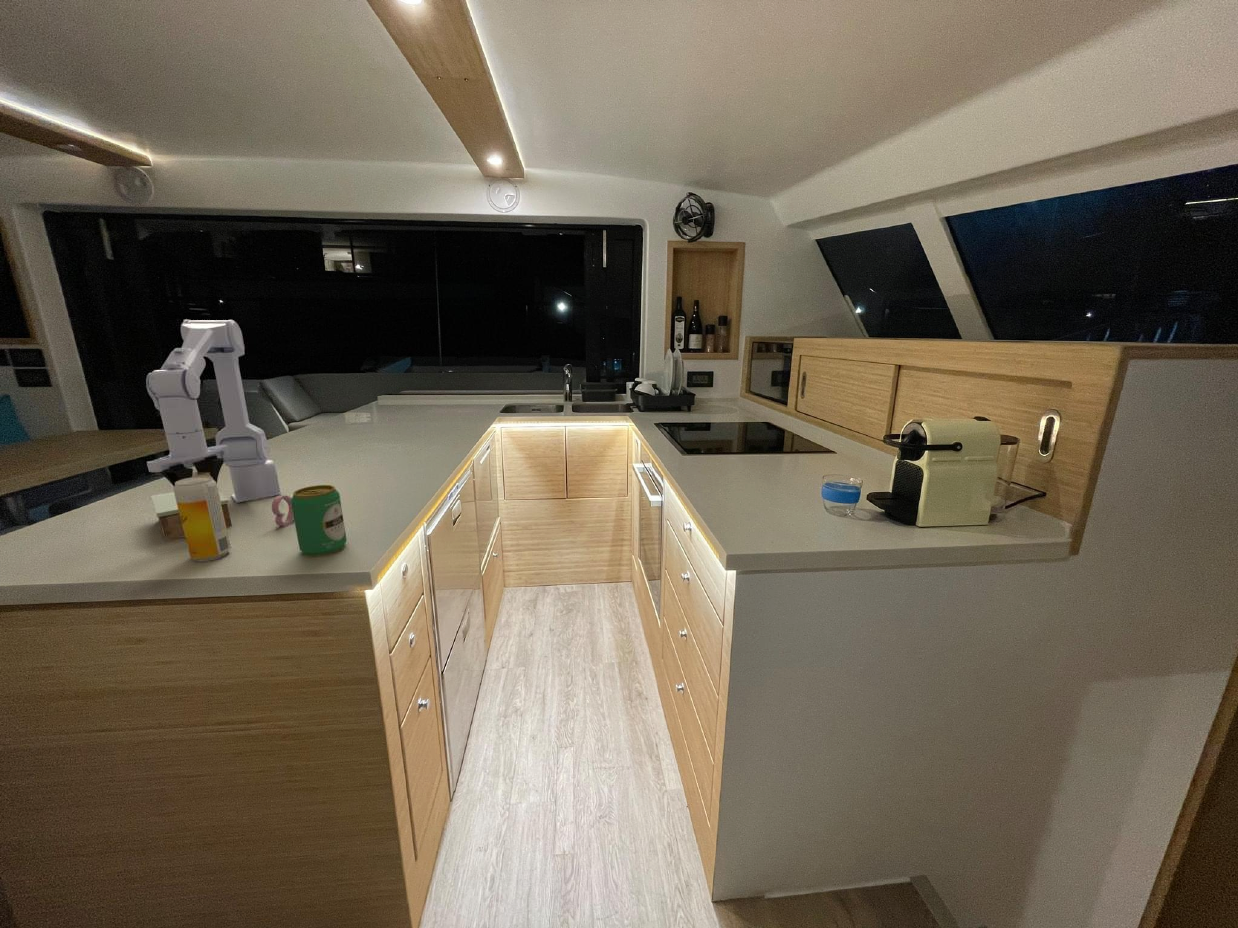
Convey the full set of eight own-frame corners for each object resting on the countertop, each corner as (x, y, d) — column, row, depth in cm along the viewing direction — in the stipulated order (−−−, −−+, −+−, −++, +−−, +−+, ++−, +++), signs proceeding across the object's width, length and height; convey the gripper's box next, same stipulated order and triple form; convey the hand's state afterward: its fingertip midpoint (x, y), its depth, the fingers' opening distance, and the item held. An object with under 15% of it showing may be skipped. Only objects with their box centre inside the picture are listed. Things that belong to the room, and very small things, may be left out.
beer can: (206, 549, 98) (188, 476, 94) (239, 548, 98) (222, 475, 94) (182, 563, 92) (162, 485, 88) (217, 562, 92) (199, 484, 88)
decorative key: (335, 510, 127) (278, 528, 107) (330, 510, 127) (273, 528, 107) (333, 484, 126) (276, 497, 107) (328, 484, 126) (271, 497, 107)
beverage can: (327, 559, 93) (317, 498, 90) (290, 556, 95) (278, 495, 91) (356, 541, 101) (347, 485, 98) (321, 539, 102) (311, 483, 99)
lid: (217, 487, 119) (213, 472, 118) (228, 503, 108) (225, 486, 107) (151, 499, 111) (147, 483, 110) (157, 517, 101) (152, 499, 100)
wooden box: (220, 508, 120) (215, 489, 119) (232, 525, 110) (227, 505, 108) (159, 520, 113) (153, 500, 112) (165, 540, 102) (159, 518, 101)
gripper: (203, 424, 106) (217, 485, 109) (126, 438, 92) (145, 507, 95) (231, 425, 104) (244, 487, 108) (158, 439, 91) (176, 510, 94)
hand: (200, 497), depth 102 cm, fingers closed on oak key block, 4 cm apart
